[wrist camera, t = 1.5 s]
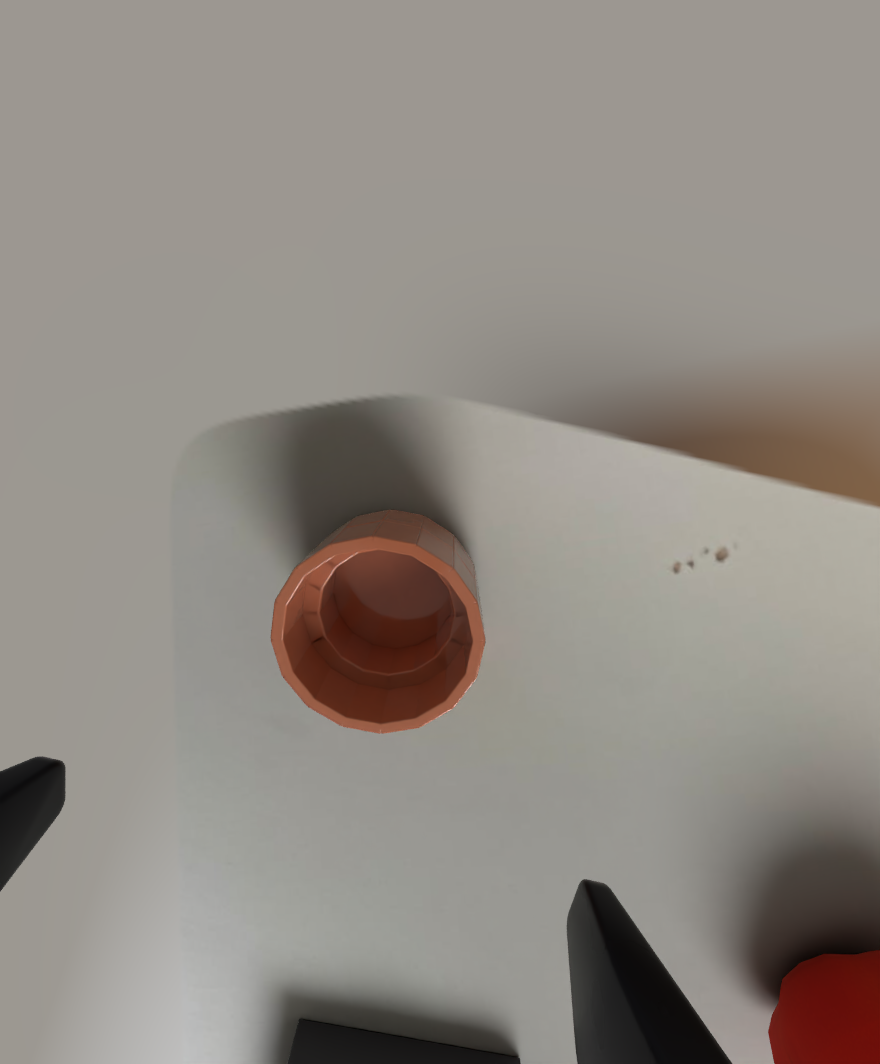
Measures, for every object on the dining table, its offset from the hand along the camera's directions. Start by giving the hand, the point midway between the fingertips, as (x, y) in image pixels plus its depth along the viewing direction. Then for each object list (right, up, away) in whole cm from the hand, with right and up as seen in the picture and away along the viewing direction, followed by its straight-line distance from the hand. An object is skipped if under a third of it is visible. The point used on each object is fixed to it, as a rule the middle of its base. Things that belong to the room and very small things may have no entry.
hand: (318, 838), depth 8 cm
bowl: (0, +3, +11) cm, 11 cm away
